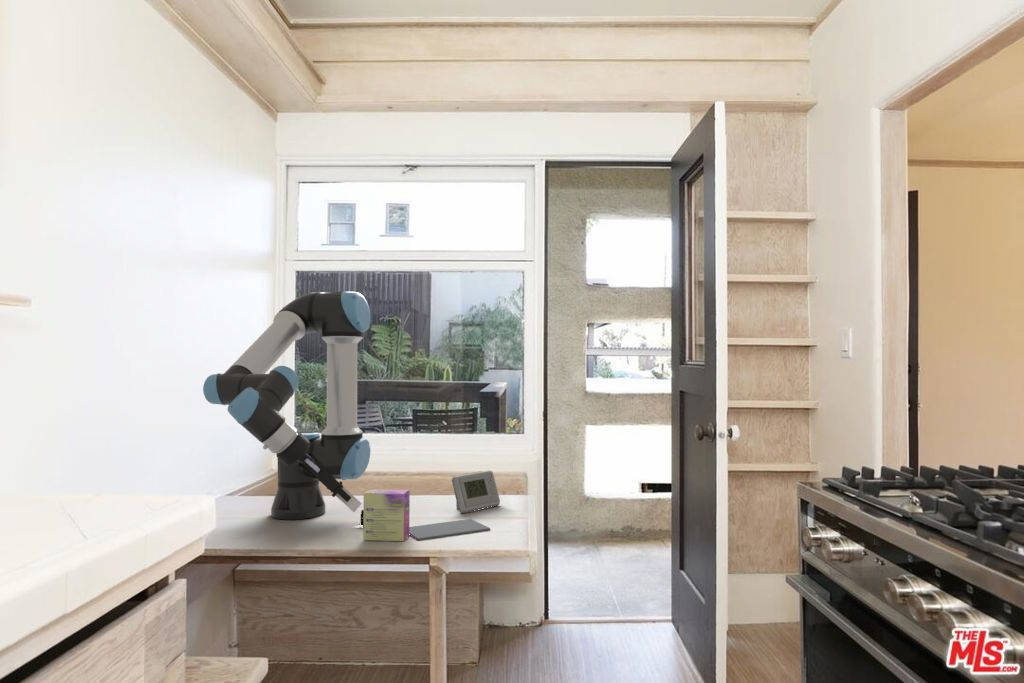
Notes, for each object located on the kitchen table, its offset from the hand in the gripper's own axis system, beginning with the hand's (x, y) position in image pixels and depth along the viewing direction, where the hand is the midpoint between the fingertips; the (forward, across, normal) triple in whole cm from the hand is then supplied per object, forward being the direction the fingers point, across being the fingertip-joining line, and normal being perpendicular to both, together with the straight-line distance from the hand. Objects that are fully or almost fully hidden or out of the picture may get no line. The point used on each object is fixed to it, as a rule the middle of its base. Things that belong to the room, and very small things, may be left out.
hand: (357, 507), depth 162 cm
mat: (+23, -1, +11) cm, 25 cm away
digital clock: (+36, -20, +23) cm, 47 cm away
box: (+12, -1, -1) cm, 12 cm away
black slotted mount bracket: (+12, -17, -1) cm, 21 cm away
